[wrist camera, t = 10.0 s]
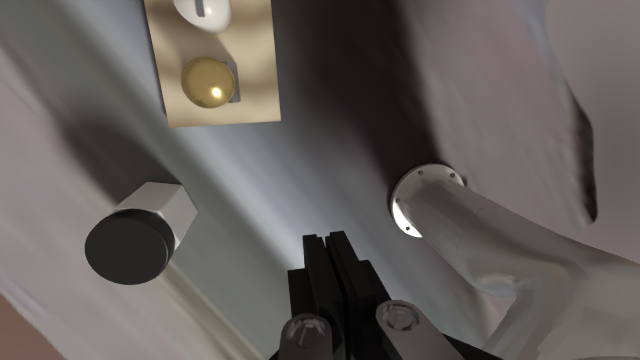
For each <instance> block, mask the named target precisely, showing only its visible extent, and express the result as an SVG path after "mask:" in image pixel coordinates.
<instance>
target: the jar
mask: <svg viewBox="0 0 640 360" xmlns="http://www.w3.org/2000/svg"><path fill="white" fill-rule="evenodd" d="M196 214H197V209H196V208H195V206H194V204H193V203H192V201H191V199H190V198H189V196H188V194H187V192H186V191H185V189H184V187H183V186H182V185H178V184H167V183H156V182H146V183H145V184H144V185H142V186H141V187H140V188H139V189H137V190H136V191H135V192H133V193H132V194H131V195H130V196H128V197H127V198H126V199H125V200H123V201H122V202H121V203H120V204H118V205H117V206H116V207H115V208H114V209H113V210H112V212H111V213H110V215H109V216H108V217H105V218H104V219H103V220H101V221H100V222H99V223H98V224H97V225H96V226H95V227H94V228H93V229H92V230H91V232H90V233H89V235H88V237H87V239H86V242H85V255H86V258H87V261H88V263H89V264H90V266H91V267H92V269H93V270H94V271H95V272H96V273H98V274H99V275H100V276H102V277H103V278H105V279H107V280H109V281H111V282H114V283H118V284H124V285H136V284H142V283H145V282H148V281H150V280H152V279H154V278H156V277H157V276H158V275H159V274H160V273H161V272H162V271H163V270H164V269H165V267H166V265H167V264H168V262H169V260H170V258H171V257H172V255H173V253H174V251H175V249H176V248H177V247H178V245H179V244H180V243H181V241H182V239H183V237H184V235H185V234H186V232H187V230H188V228H189V227H190V225H191V223H192V221H193V219H194V218H195V216H196Z"/></svg>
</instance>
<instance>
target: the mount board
mask: <svg viewBox="0 0 640 360" xmlns="http://www.w3.org/2000/svg"><path fill="white" fill-rule="evenodd" d="M229 1H230V3H231V6H232V10H233V18H232V22H231V24H230V26H229V28H228V29H227V30H226V31H224V32H223V33H220V34H217V35H210V34H206V33H204V32H202V31H200V30H199V29H198V28H196V27H195V26H194V25H193V24H191V23H190V22H189V21H187V20H186V19H185V18H184V17H183V16H182V15H181V14H180V13H179V12H178V10H177V9H176V7H175V5H174V2H173V0H144V4H145V9H146V14H147V19H148V24H149V29H150V34H151V39H152V44H153V49H154V54H155V59H156V64H157V69H158V73H159V78H160V83H161V88H162V93H163V98H164V103H165V108H166V113H167V118H168V123H169V128H173V127H189V126H205V125H220V124H236V123H251V122H267V121H281V117H280V105H279V94H278V82H277V70H276V58H275V47H274V35H273V23H272V11H271V0H229ZM202 56H205V57H211V58H214V59H216V60H218V61H220V62H222V63H224V64H225V65H226V66H227V67H228V68H229V69H230V70H231V72H232V74H233V76H234V79H235V92H234V95H233V96H232V98H231V99H230V100H229V101H228V102H227V103H226V104H224V105H222V106H220V107H217V108H212V109H207V108H202V107H199V106H197V105H195V104H194V103H192V102H191V101H190V100H189V99H188V98H187V97H186V95H185V94H184V92H183V89H182V86H181V73H182V70H183V68H184V67H185V65H186V64H187V63H188V62H189V61H190V60H192V59H194V58H197V57H202Z"/></svg>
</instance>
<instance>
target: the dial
mask: <svg viewBox="0 0 640 360" xmlns="http://www.w3.org/2000/svg"><path fill="white" fill-rule="evenodd" d="M173 2H174V5H175V7H176V9H177V10H178V12H179V13H180V14H181V15H182V16H183V17H184V18H185V19H186V20H187V21H189V22H190V23H191V24H193V25H194V26H195V27H196V28H198V29H199V30H200V31H202V32H204V33H206V34H210V35H217V34H220V33H223V32H224V31H226V30H227V29H228V28H229V26H230V24H231V22H232V18H233V10H232V6H231V3H230V1H229V0H173Z"/></svg>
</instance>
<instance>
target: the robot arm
mask: <svg viewBox="0 0 640 360" xmlns="http://www.w3.org/2000/svg"><path fill="white" fill-rule="evenodd" d="M418 171H419V172H418ZM396 198H397V199H396ZM390 209H391V214H392V217H393V220H394V221H395V223H396V224H397V225H398V226H399V228H400V229H401V230H403V231H404V232H405V233H407V234H409V235H411V236H415V237H423V238H424V239H425V240H426V241H427V242H428V243H429V244H430V245H431V246H432V247H433V248H434V249H435V250H436V251H437V252H438V253H439V254H440V255H441V256H442V257H443V258H444V259H445V260H446V261H447V262H448V263H449V264H450V265H451V266H452V267H453V268H454V269H455V270H456V271H457V272H458V273H459V274H460V275H461V276H462V277H464V278H465V279H466V280H467V281H468V282H469V283H470V284H471V285H472V286H474V287H475V288H476V289H478V290H480V291H481V292H484V293H486V294H488V295H491V296H495V297H500V298H506V299H515V300H514V302H513V304H512V305H511V307H510V308H509V310H508V311H507V314H506V316H505V317H504V319H503V320H502V322H501V323H500V324H499V326H498V327H497V329H496V330H495V331H494V333H493V334H492V336H491V337H490V338H489V340H488V341H487V343H486V344H485V345H484V347H483V348H482V350H481V349H478V348H476V347H473V346H471V345H469V344H466V343H464V342H461V341H459V340H457V339H454V338H452V337H450V336H447V335H445V334H442V333H440V331H439V330H438V329H437V328H436V327H435V326H434V325H433V324H432V323H431V321H430V320H429V319H428V318H427V317H426V316H425V315H424V314H423V313H422V311H421V310H420V309H418V308H417V307H416V306H415V305H413V304H411V303H409V302H406V301H402V300H392V299H391V298H390V296H389V294H388V292H387V291H386V289H385V287H384V285H383V284H382V282H381V280H380V278H379V277H378V275H377V273H376V271H375V270H374V268H373V266H372V264H371V263H370V261H369V260H362V261H359V259H358V258H357V256H356V254H355V252H354V250H353V248H352V246H351V244H350V242H349V240H348V238H347V236H346V234H345V232H344V231H337V232H330V236H326V237H325V245H326V248H325V245H324V242H323V239H322V237H317V235H316V234H312V235H304V236H303V250H304V264H305V268H302V269H295V270H287V271H288V282H289V293H290V303H291V314H292V318H291V319H290V320H289V321H287V323H286V324H285V325H284V327H283V330H282V333H281V339H280V347H279V350H278V351H277V352H276V353H275V354H274V355H273V356H272V357H271V358H270V359H269V360H640V264H638V263H636V262H633V261H631V260H629V259H626V258H623V257H620V256H618V255H615V254H612V253H609V252H606V251H603V250H600V249H597V248H594V247H591V246H589V245H586V244H583V243H580V242H577V241H575V240H572V239H570V238H567V237H565V236H562V235H560V234H557V233H555V232H553V231H551V230H549V229H547V228H545V227H543V226H541V225H538V224H536V223H534V222H532V221H530V220H528V219H526V218H524V217H522V216H520V215H518V214H516V213H514V212H512V211H510V210H508V209H506V208H504V207H502V206H501V205H499V204H497V203H495V202H493V201H491V200H489V199H487V198H485V197H483V196H481V195H479V194H477V193H475V192H473V191H472V190H470V189H468V188H466V187H464V183H463V181H462V179H461V177H460V176H459V175H458V174H457V172H455V171H454V170H453V169H451V168H449V167H447V166H445V165H442V164H436V163H429V164H423V165H420V166H417V167H415V168H413V169H411V170H410V171H409V172H407V173H406V174H405V175H404V176H403V177H402V178H401V179H400V180H399V182H398V183H397V185H396V186H395V188H394V191H393V193H392V197H391V203H390Z"/></svg>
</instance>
